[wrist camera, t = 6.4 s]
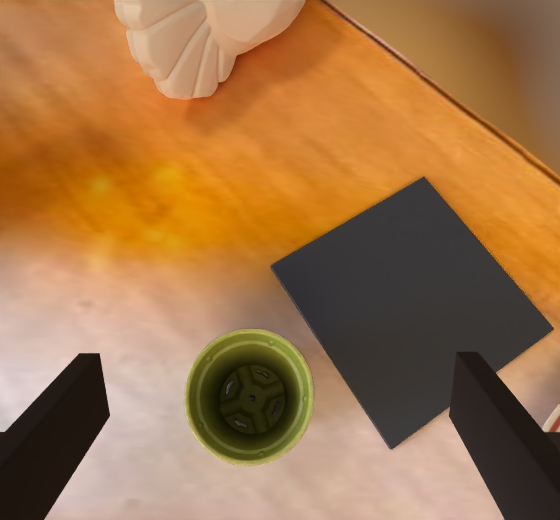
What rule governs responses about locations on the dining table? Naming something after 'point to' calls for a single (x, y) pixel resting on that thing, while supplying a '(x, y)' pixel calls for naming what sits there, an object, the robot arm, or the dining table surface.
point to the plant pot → (236, 405)
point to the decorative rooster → (198, 38)
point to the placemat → (407, 306)
